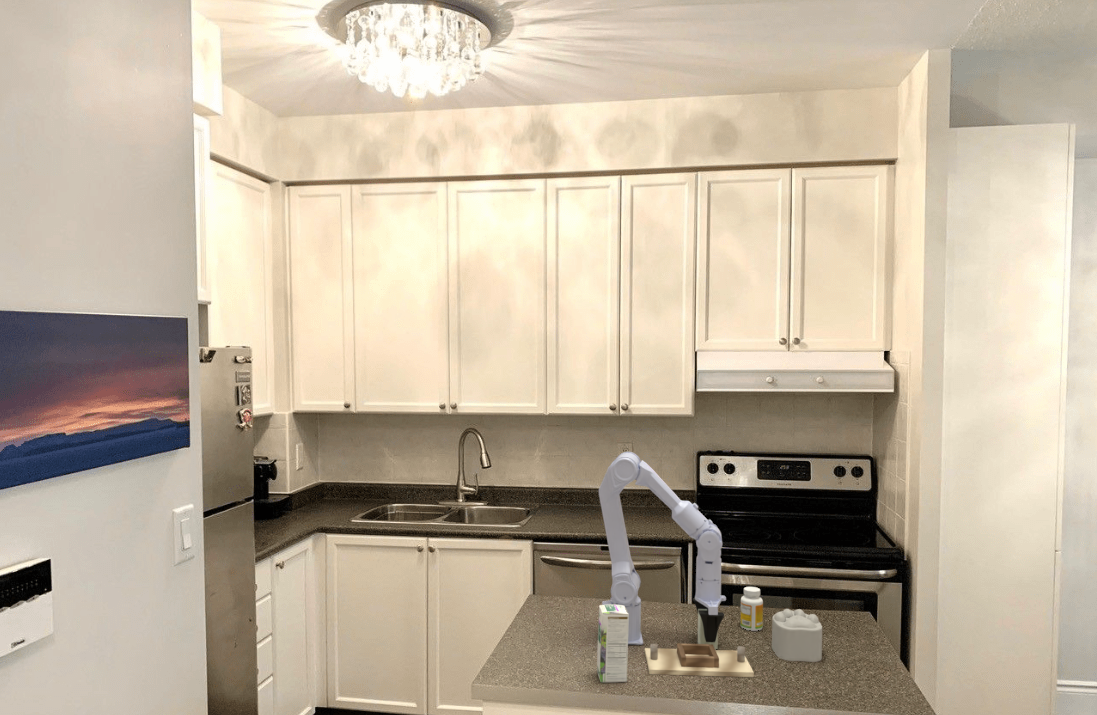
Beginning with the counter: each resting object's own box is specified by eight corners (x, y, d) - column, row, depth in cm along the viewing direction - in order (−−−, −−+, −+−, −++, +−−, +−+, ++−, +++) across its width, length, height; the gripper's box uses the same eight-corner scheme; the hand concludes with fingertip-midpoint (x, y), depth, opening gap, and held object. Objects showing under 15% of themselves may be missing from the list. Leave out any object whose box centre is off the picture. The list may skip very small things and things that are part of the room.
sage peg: (700, 649, 182) (700, 614, 182) (697, 642, 186) (698, 608, 186) (717, 649, 181) (718, 615, 181) (714, 643, 185) (715, 609, 185)
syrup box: (596, 671, 168) (597, 604, 168) (623, 671, 169) (624, 603, 168) (600, 683, 162) (601, 613, 162) (628, 682, 163) (629, 612, 163)
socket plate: (649, 674, 167) (649, 655, 167) (644, 652, 179) (645, 634, 179) (753, 677, 166) (754, 658, 166) (742, 655, 178) (742, 637, 178)
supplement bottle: (760, 624, 198) (761, 586, 198) (764, 632, 193) (765, 592, 193) (738, 623, 199) (739, 585, 199) (741, 630, 194) (742, 591, 193)
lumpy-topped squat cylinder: (778, 660, 176) (778, 622, 175) (767, 639, 189) (767, 603, 188) (825, 662, 175) (826, 624, 175) (811, 641, 188) (811, 604, 188)
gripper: (731, 587, 176) (730, 647, 176) (720, 569, 190) (719, 625, 191) (700, 586, 176) (699, 647, 176) (690, 568, 191) (690, 624, 191)
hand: (707, 635), depth 183 cm, fingers open, 7 cm apart
